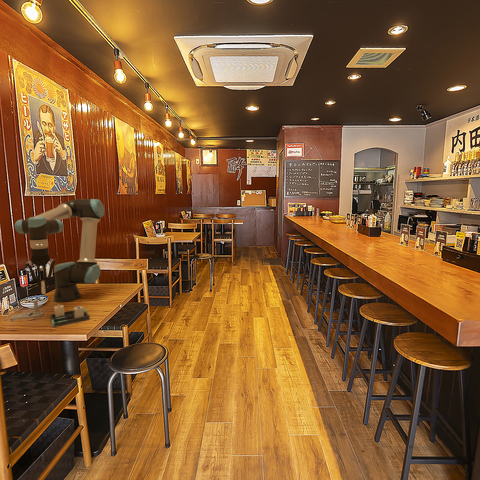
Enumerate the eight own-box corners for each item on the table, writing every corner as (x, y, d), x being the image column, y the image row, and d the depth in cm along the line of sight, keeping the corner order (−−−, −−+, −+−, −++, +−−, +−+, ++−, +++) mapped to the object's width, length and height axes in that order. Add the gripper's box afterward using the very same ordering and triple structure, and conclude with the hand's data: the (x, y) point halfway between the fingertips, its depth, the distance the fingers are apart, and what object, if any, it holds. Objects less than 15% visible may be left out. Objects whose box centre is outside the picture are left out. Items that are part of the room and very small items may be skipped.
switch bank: (50, 319, 163) (49, 313, 163) (84, 312, 173) (83, 307, 172) (53, 330, 150) (52, 324, 149) (90, 321, 159) (89, 316, 159)
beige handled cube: (74, 318, 161) (73, 306, 160) (82, 316, 163) (81, 304, 162) (75, 320, 157) (74, 308, 156) (84, 319, 160) (83, 306, 159)
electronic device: (11, 301, 163) (42, 298, 167) (13, 319, 164) (45, 315, 168) (6, 305, 158) (39, 301, 161) (9, 323, 159) (41, 319, 163)
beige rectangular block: (55, 317, 162) (54, 305, 161) (63, 315, 165) (62, 303, 164) (56, 319, 159) (54, 307, 158) (64, 317, 161) (63, 305, 160)
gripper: (23, 250, 146) (28, 297, 149) (55, 247, 154) (59, 292, 157) (23, 248, 152) (27, 293, 155) (53, 245, 160) (57, 289, 163)
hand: (43, 293), depth 156 cm, fingers closed
